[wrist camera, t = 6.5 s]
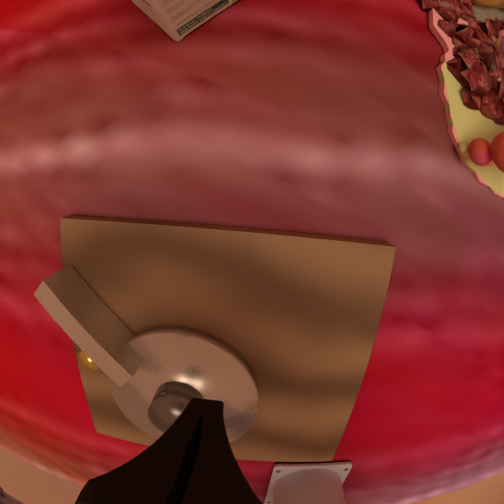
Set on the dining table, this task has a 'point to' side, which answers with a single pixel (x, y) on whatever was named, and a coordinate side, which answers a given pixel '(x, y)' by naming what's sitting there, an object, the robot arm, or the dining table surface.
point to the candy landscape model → (473, 82)
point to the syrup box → (181, 14)
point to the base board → (244, 316)
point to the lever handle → (152, 360)
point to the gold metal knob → (86, 362)
